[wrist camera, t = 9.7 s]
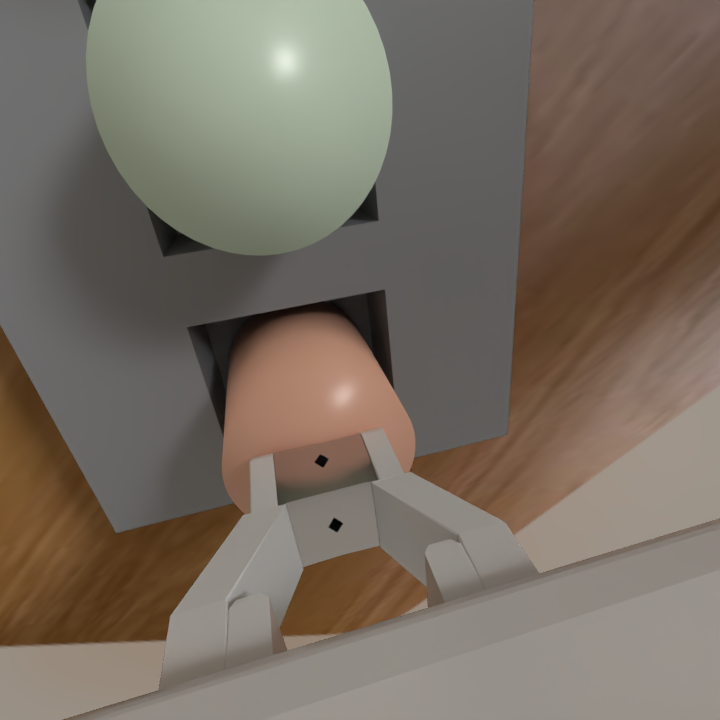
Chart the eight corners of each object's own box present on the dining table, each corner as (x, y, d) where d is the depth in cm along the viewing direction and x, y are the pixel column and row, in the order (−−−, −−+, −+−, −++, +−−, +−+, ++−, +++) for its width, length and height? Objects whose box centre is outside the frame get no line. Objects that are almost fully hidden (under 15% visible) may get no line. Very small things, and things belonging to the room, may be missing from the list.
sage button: (322, -3, 10) (379, -100, 6) (346, 197, 12) (401, 233, 8) (123, 16, 10) (23, -78, 5) (184, 222, 12) (150, 276, 7)
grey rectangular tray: (465, -560, 8) (592, -956, 5) (464, 384, 18) (507, 434, 15) (-375, -647, 6) (-932, -1347, 3) (139, 459, 16) (116, 532, 13)
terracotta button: (357, 285, 14) (410, 358, 9) (371, 403, 16) (419, 506, 11) (211, 312, 13) (195, 404, 9) (247, 431, 15) (248, 552, 11)
